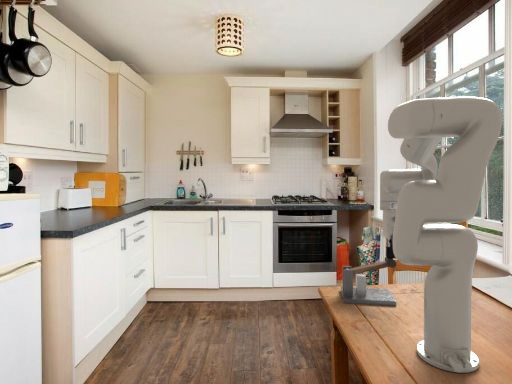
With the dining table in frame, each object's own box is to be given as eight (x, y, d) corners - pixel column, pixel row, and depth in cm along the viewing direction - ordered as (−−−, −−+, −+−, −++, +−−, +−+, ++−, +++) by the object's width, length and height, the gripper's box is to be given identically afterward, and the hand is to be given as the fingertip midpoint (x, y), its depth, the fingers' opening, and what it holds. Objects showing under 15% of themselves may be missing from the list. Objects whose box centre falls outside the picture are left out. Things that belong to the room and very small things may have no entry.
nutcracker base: (396, 305, 105) (396, 274, 104) (343, 303, 108) (343, 272, 107) (388, 293, 116) (388, 264, 116) (340, 290, 120) (340, 263, 119)
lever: (397, 267, 107) (395, 259, 107) (346, 278, 110) (344, 270, 110) (393, 262, 113) (391, 255, 113) (344, 273, 116) (342, 265, 116)
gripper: (409, 208, 101) (408, 264, 102) (397, 203, 116) (397, 252, 117) (384, 208, 103) (384, 263, 104) (376, 203, 117) (376, 252, 118)
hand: (391, 257), depth 110 cm, fingers closed
